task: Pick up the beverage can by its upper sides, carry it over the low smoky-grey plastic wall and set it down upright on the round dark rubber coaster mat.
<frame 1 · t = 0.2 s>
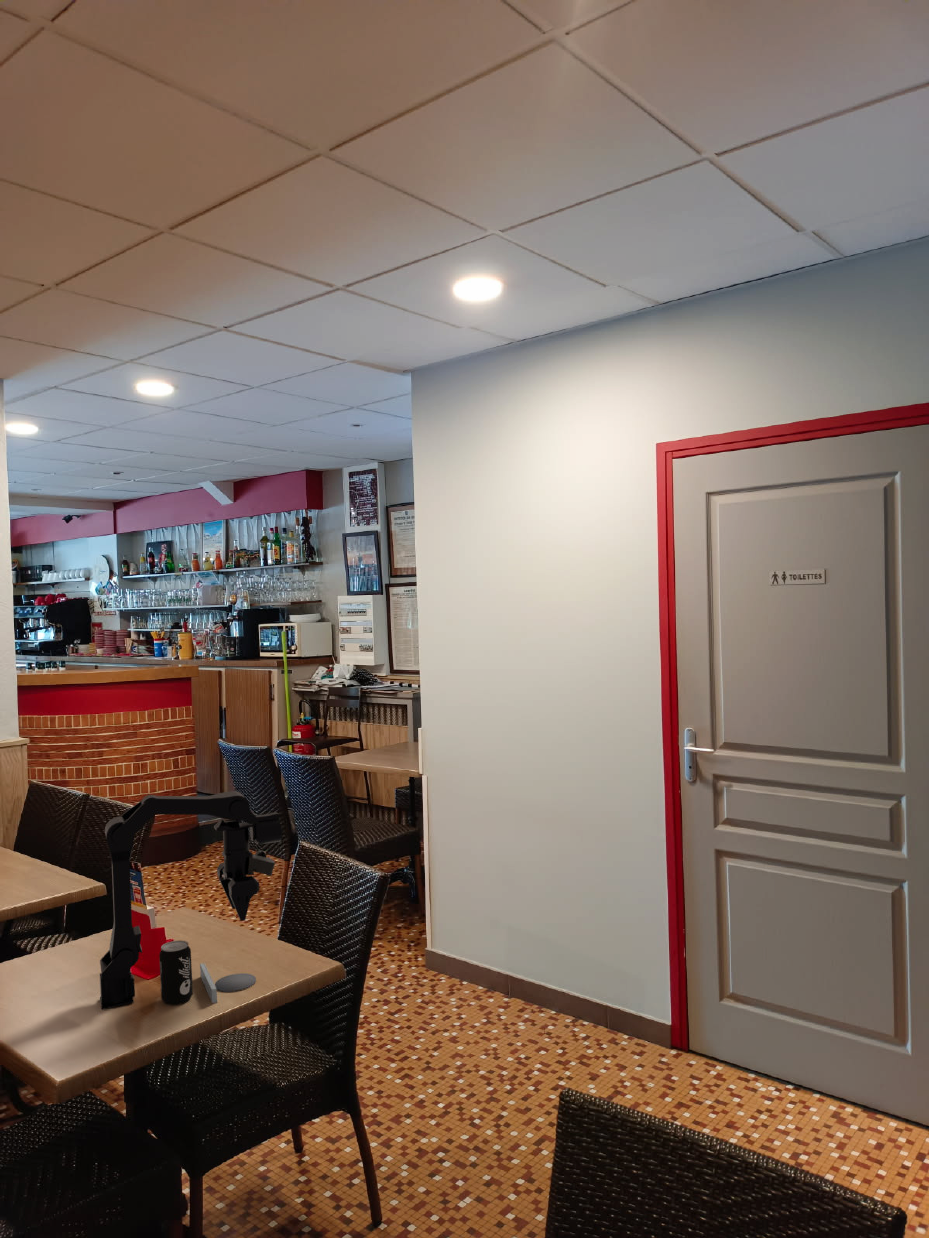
hand: (238, 914, 208), 14 cm above the table, tool pointing down, fingers open, 9 cm apart
low wall: (208, 988, 202), on the table
beverage can: (177, 1000, 197), on the table
coaster mat: (235, 983, 204), on the table
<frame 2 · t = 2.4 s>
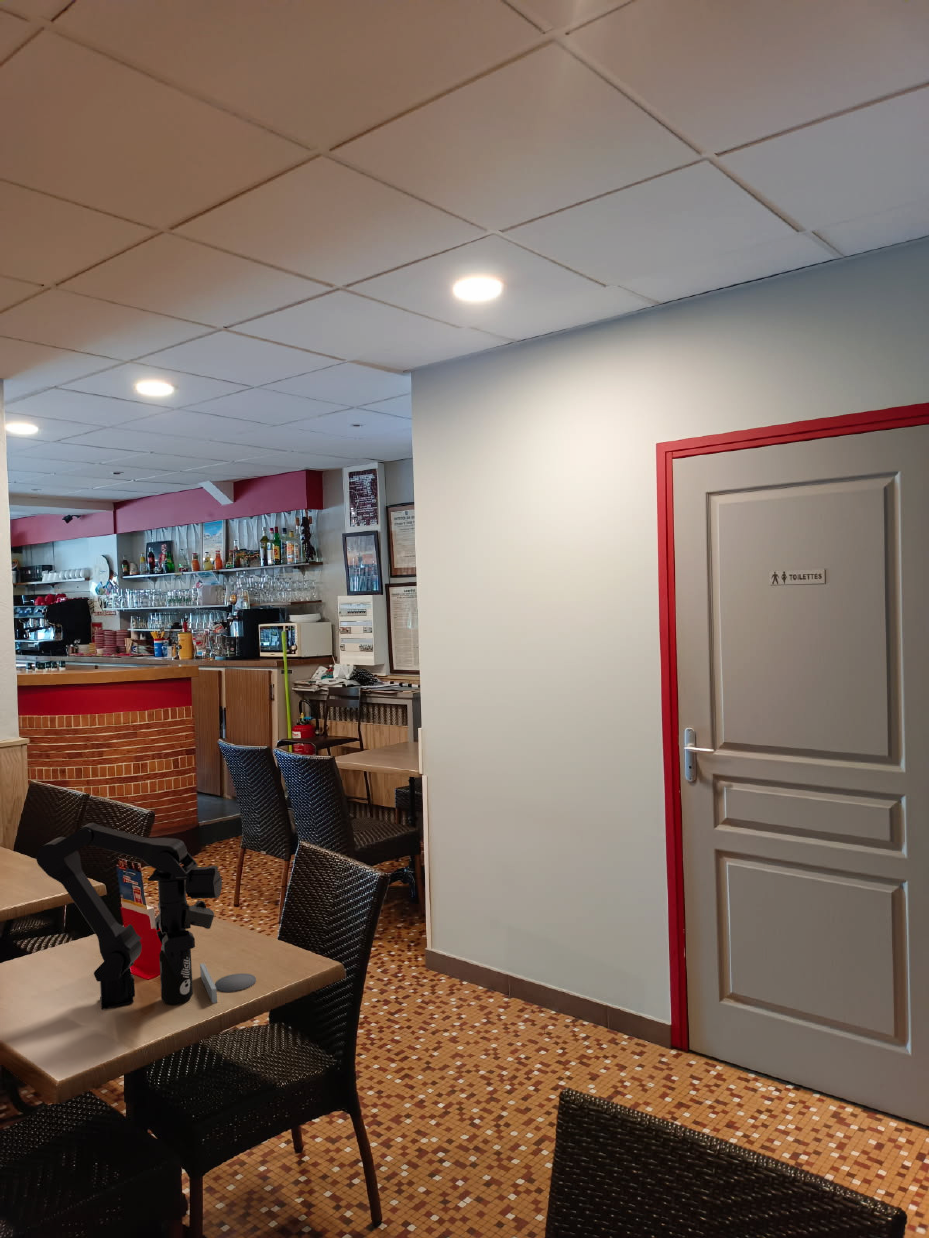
hand: (175, 969, 197), 7 cm above the table, tool pointing down, fingers closed on beverage can, 6 cm apart
beverage can: (177, 1000, 197), on the table, touching gripper
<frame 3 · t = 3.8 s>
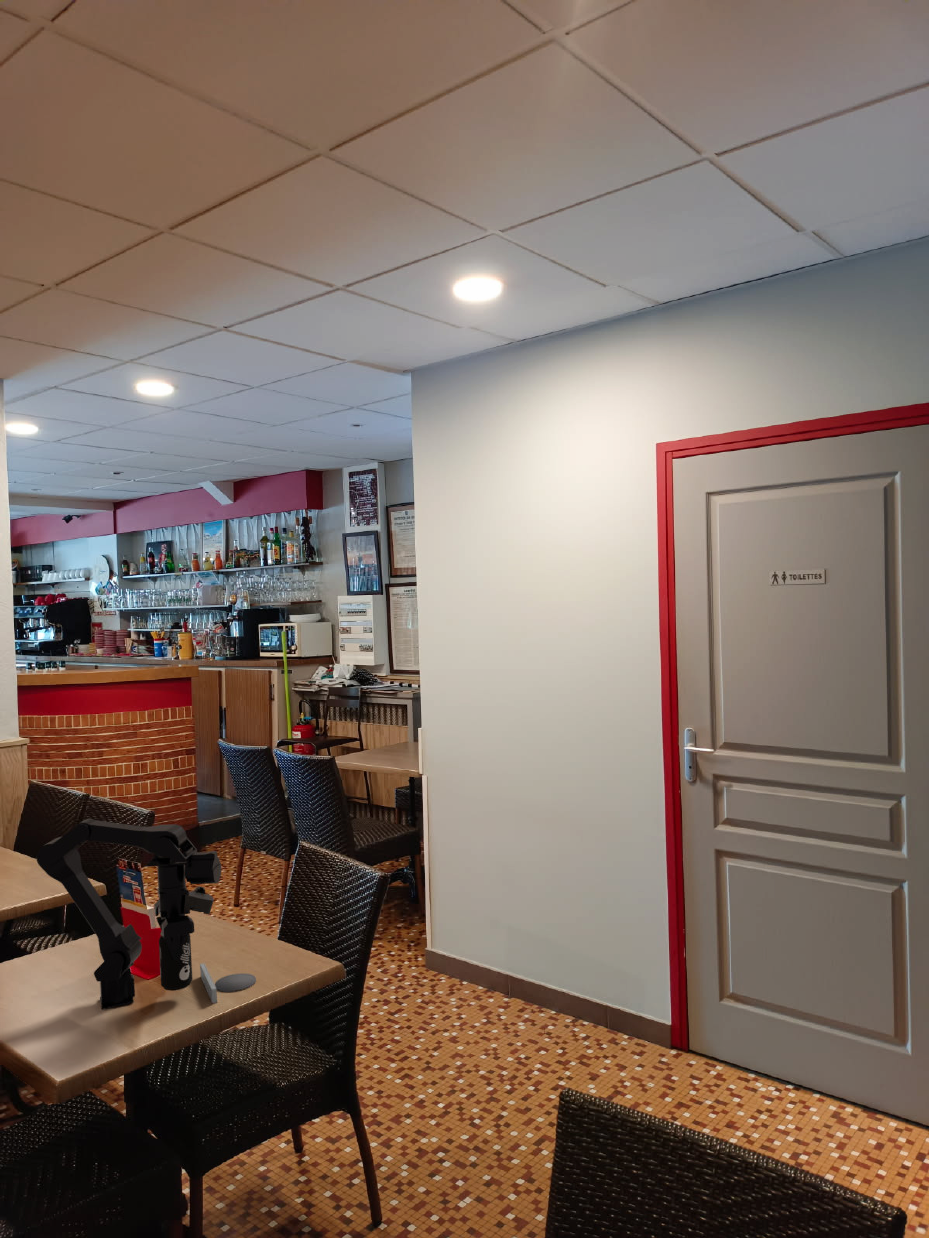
hand: (175, 955, 197), 10 cm above the table, tool pointing down, fingers closed on beverage can, 6 cm apart
beverage can: (176, 986, 197), point 3 cm above the table, touching gripper
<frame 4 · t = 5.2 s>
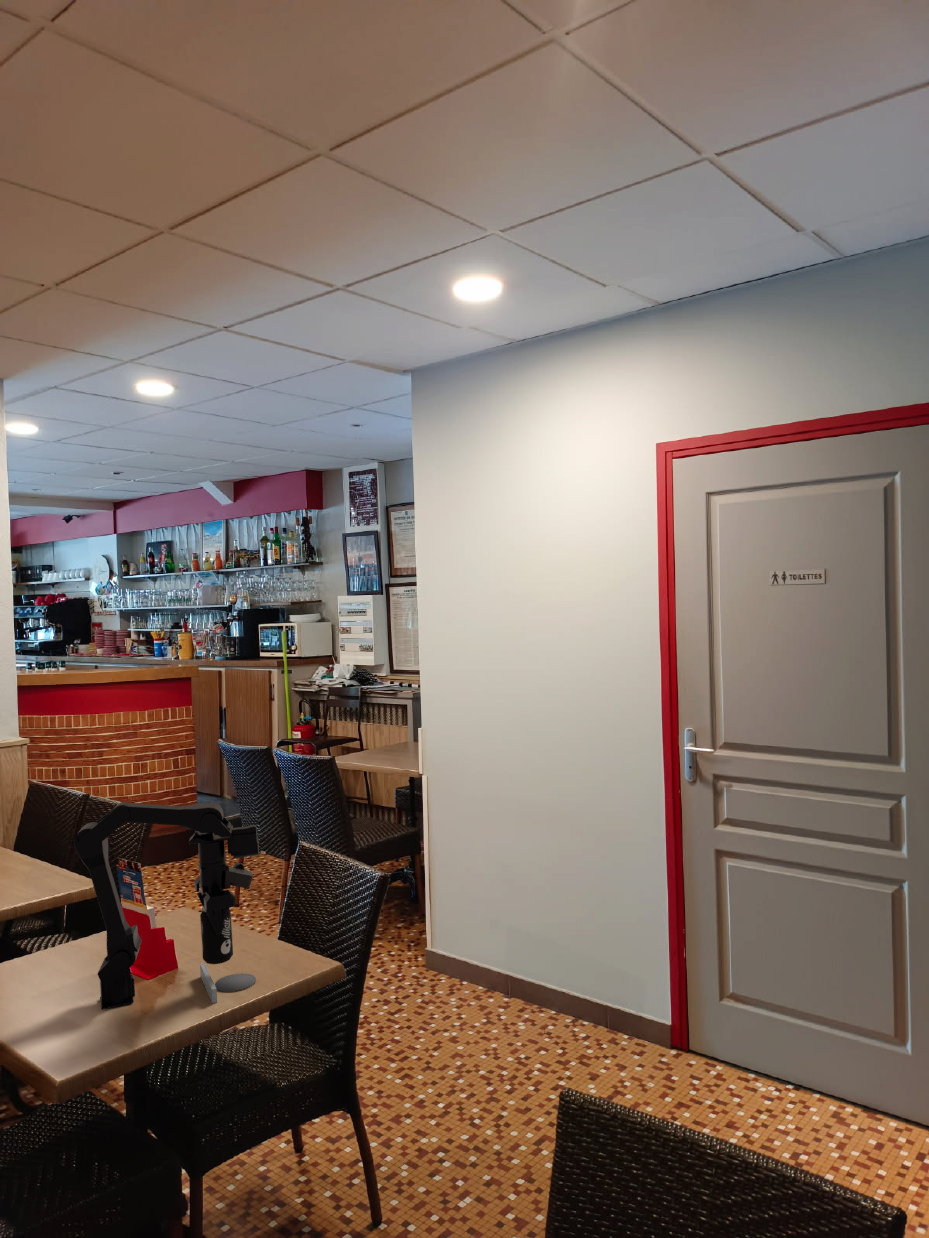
hand: (216, 929, 202), 13 cm above the table, tool pointing down, fingers closed on beverage can, 6 cm apart
beverage can: (218, 960, 202), point 6 cm above the table, touching gripper
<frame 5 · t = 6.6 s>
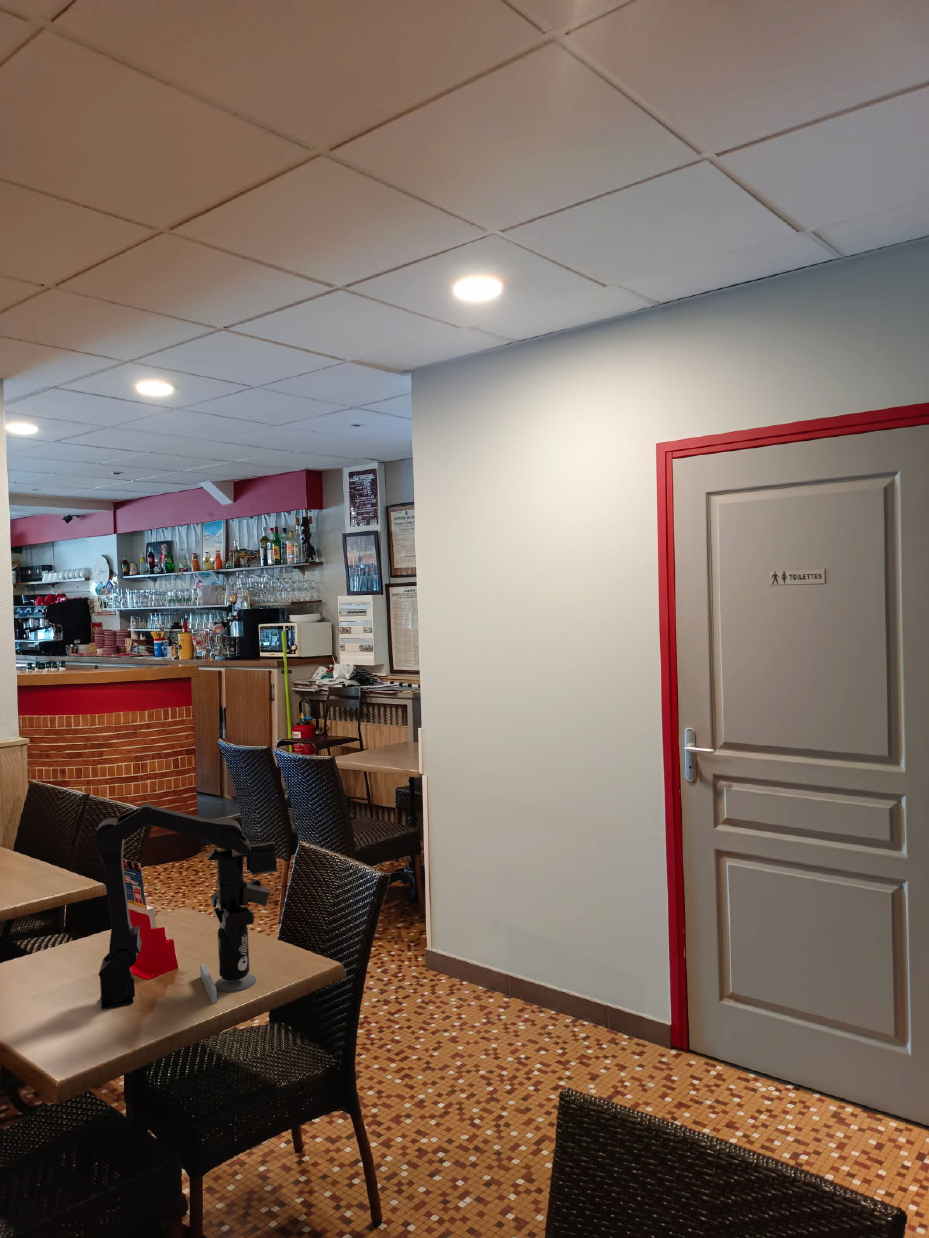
hand: (233, 945, 204), 9 cm above the table, tool pointing down, fingers closed on beverage can, 6 cm apart
beverage can: (234, 976, 204), point 2 cm above the table, touching gripper
when the fingers open (8 cm above the table, at t = 7.7 s): beverage can stays where it is, resting on coaster mat.
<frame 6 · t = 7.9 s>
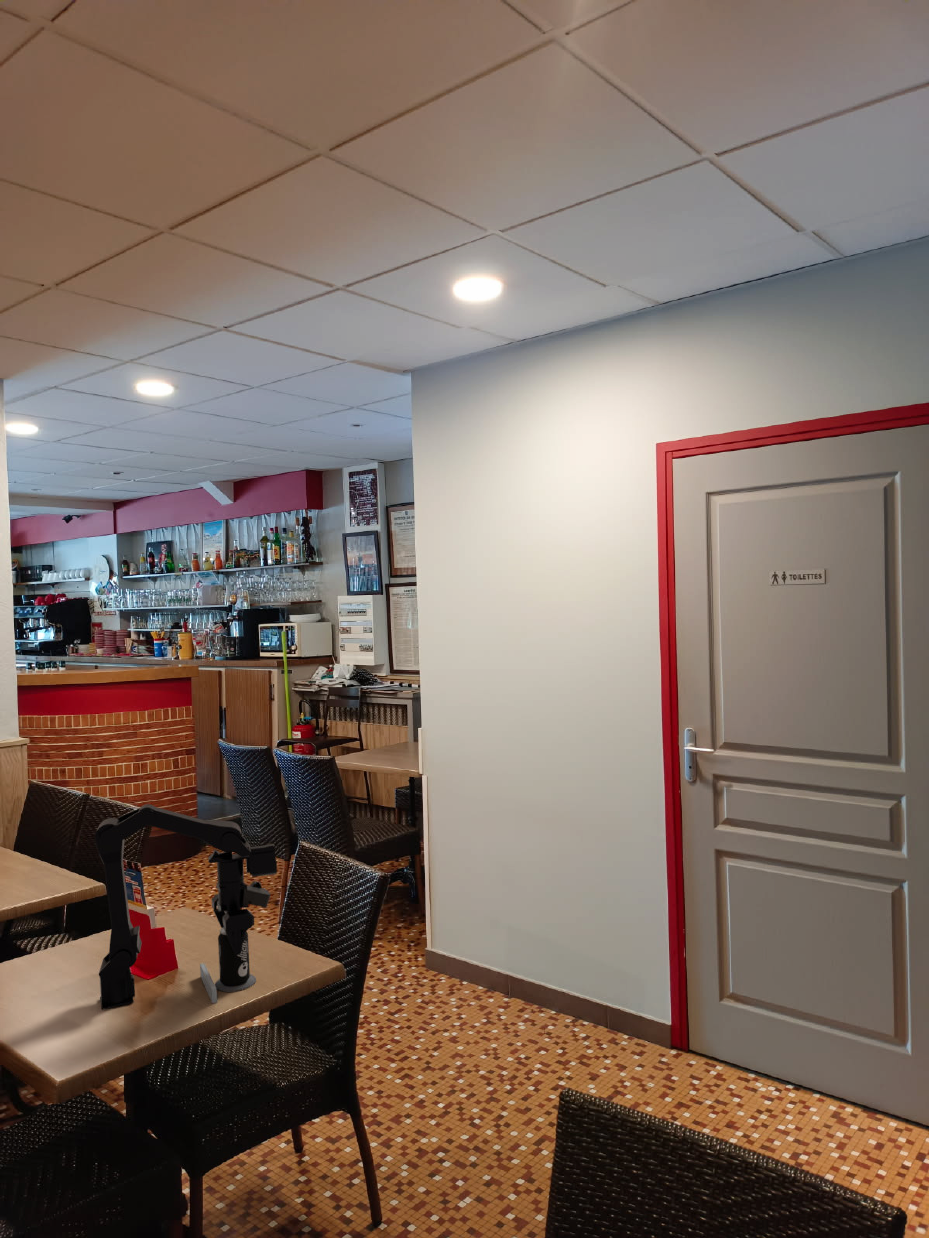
hand: (233, 947, 204), 8 cm above the table, tool pointing down, fingers open, 9 cm apart
beverage can: (235, 982, 204), resting on coaster mat
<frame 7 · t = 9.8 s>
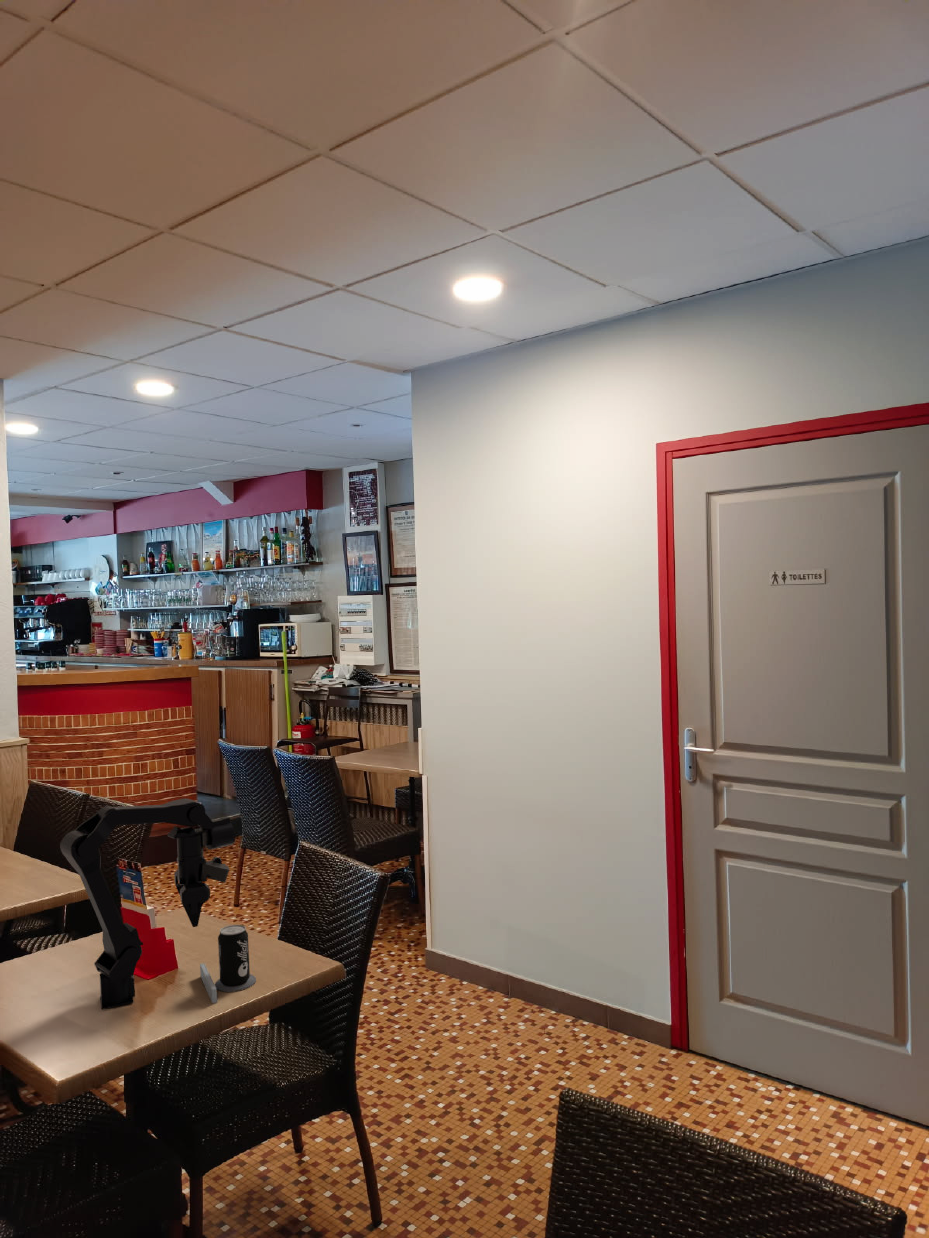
hand: (192, 920, 210), 13 cm above the table, tool pointing down, fingers open, 9 cm apart
nothing on the table moved.
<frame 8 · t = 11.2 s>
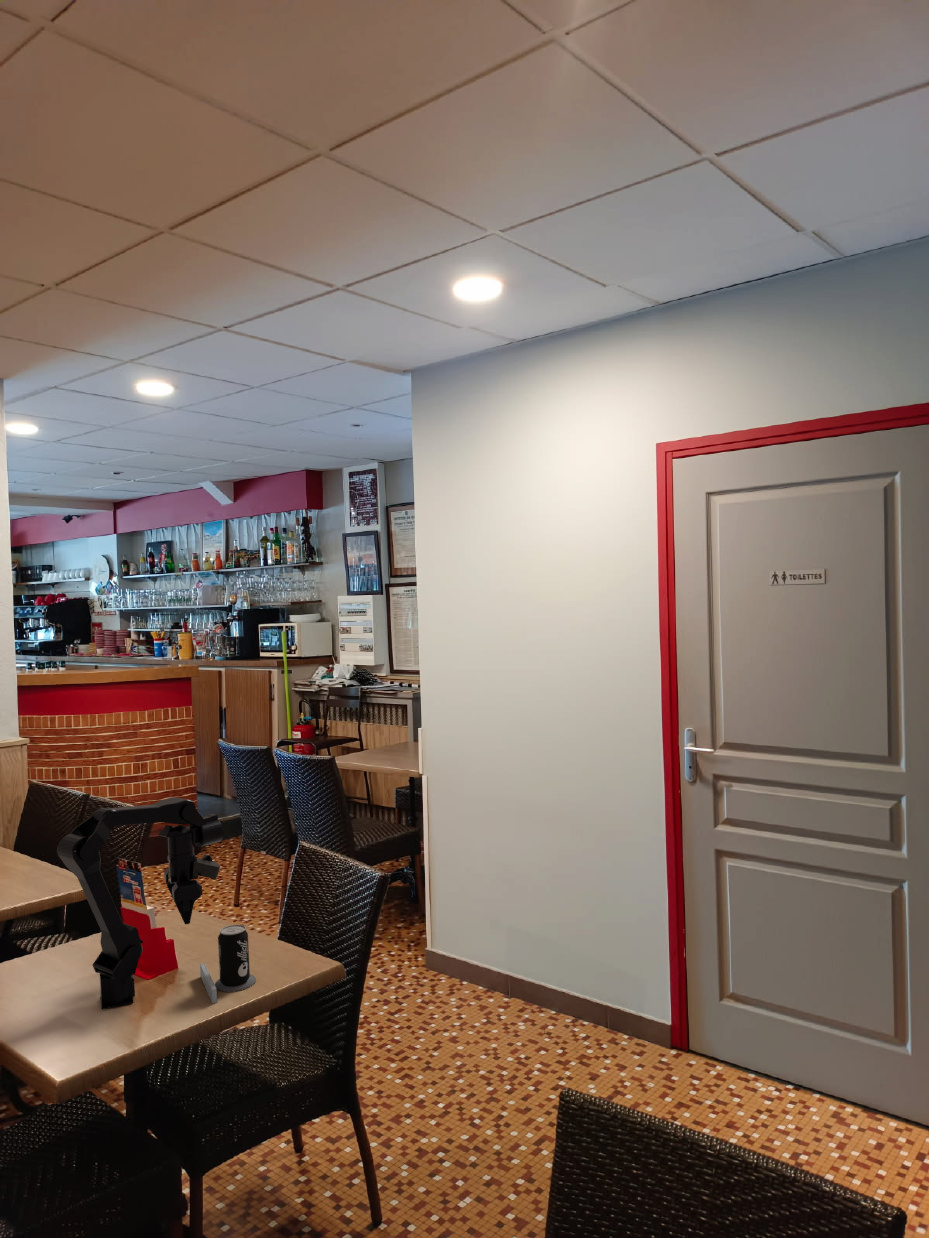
hand: (184, 917, 211), 13 cm above the table, tool pointing down, fingers open, 9 cm apart
nothing on the table moved.
at the end: beverage can 0.1 cm off-centre on the coaster mat, point 0.2 cm above the coaster mat's base; beverage can tilted 0°; the gripper is holding nothing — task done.
